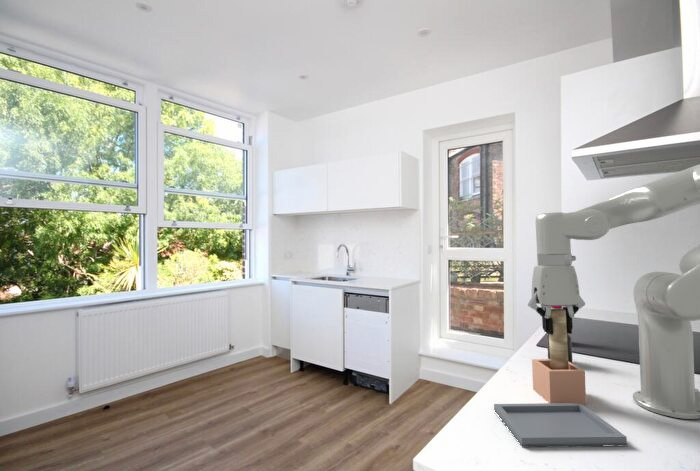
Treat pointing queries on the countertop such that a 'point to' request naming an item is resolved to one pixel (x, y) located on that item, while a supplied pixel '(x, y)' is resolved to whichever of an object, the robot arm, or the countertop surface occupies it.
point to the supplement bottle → (569, 342)
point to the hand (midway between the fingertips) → (557, 331)
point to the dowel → (558, 340)
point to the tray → (558, 425)
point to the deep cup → (559, 382)
